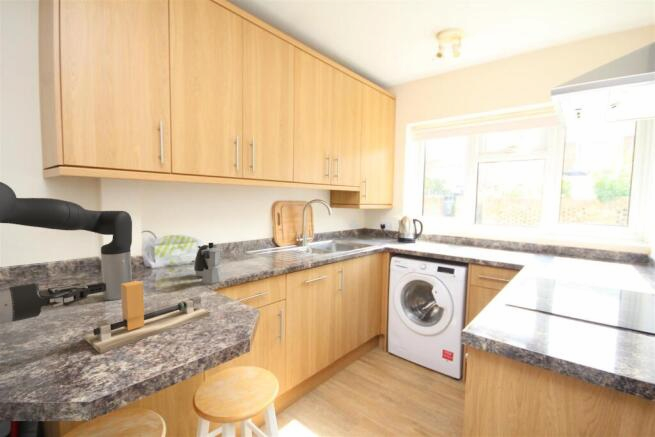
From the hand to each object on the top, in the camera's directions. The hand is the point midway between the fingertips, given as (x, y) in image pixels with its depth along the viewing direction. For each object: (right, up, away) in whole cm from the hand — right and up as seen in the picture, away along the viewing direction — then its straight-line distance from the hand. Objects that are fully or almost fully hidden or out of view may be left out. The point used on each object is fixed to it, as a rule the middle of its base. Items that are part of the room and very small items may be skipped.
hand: (104, 286), depth 77 cm
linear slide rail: (+7, -14, +10) cm, 19 cm away
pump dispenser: (-2, -11, +67) cm, 68 cm away
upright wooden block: (+4, -13, +6) cm, 14 cm away
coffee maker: (+6, -11, +56) cm, 57 cm away
